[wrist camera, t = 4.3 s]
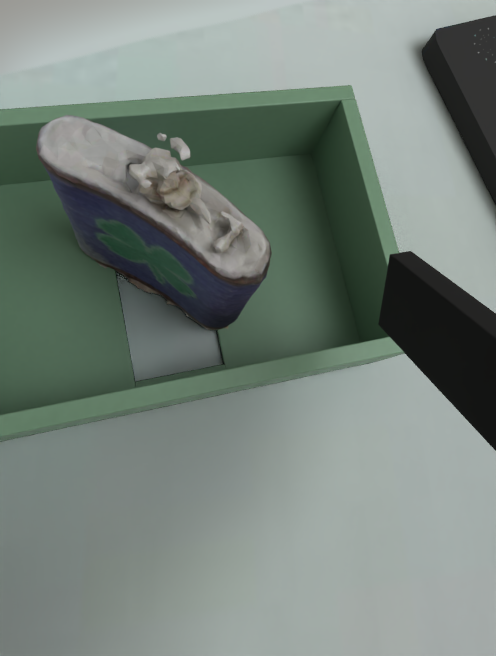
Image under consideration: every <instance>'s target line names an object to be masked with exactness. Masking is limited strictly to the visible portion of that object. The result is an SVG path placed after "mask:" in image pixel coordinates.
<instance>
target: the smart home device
mask: <svg viewBox="0 0 496 656" xmlns="http://www.w3.org/2000/svg"><path fill="white" fill-rule="evenodd" d="M422 55H423V59H424V61H425V64H426V66H427V68H428V70H429V72H430V74H431V76H432V78H433V80H434V82H435V84H436V86H437V88H438V90H439V92H440V94H441V96H442V98H443V100H444V102H445V104H446V106H447V108H448V110H449V112H450V114H451V116H452V118H453V120H454V122H455V124H456V126H457V128H458V130H459V132H460V134H461V136H462V138H463V140H464V142H465V144H466V146H467V148H468V150H469V152H470V154H471V156H472V158H473V160H474V162H475V164H476V166H477V168H478V170H479V172H480V174H481V176H482V178H483V180H484V182H485V184H486V186H487V188H488V190H489V192H490V194H491V196H492V198H493V200H494V202H495V204H496V15H495V16H491V17H487V18H482V19H478V20H474V21H469V22H465V23H461V24H456V25H452V26H448V27H443V28H439V29H436V31H435V32H434V34H433V35H432V37H431V38H430V39H429V41H428V42H427V44H426V45H425V47H424V48H423V50H422Z"/></svg>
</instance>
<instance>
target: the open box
mask: <svg viewBox="0 0 496 656" xmlns="http://www.w3.org/2000/svg"><path fill="white" fill-rule="evenodd" d="M65 115H73V116H78V117H83V118H85V119H88V120H90V121H92V122H94V123H98V124H101V125H104V126H106V127H108V128H110V129H112V130H115V131H117V132H118V133H120V134H122V135H124V136H127V137H129V138H131V139H134V140H136V141H139V142H141V143H143V144H145V145H147V146H148V147H150V148H152V149H153V148H160V149H164V150H168V151H170V153H171V157H175V158H176V159H177V160H178V161H179V162H180V165H182V166H185V167H187V168H189V169H190V170H191V171H192V172H193V173H194V174H196V175H197V176H199V177H200V178H202V179H203V180H205V181H206V182H207V183H209V184H210V185H211V186H212V187H214V188H215V189H216V190H217V191H218V192H220V193H221V194H222V195H223V196H224V197H226V198H227V199H228V200H229V201H230V202H232V203H233V204H234V205H235V206H236V207H237V208H238V209H239V210H240V211H242V212H243V213H244V214H245V216H247V217H248V218H249V219H250V220H252V221H253V222H254V223H255V224H256V225H257V226H258V227H259V228H260V229H261V230H262V231H263V232H264V234H265V236H266V237H267V239H268V240H269V242H270V246H271V252H272V254H271V258H270V265H269V268H268V272H267V276H266V278H265V279H264V280H263V281H262V283H261V284H260V286H259V288H258V289H257V290H256V292H255V293H254V294H253V295H252V296H251V298H250V299H249V301H248V302H247V303H246V305H245V307H244V308H243V310H242V311H241V313H240V315H239V316H238V319H236V320H235V322H233V323H231V324H229V325H228V329H225V328H222V329H219V330H218V329H217V333H218V338H219V343H220V348H221V353H222V357H223V362H224V364H222V365H217V366H212V367H207V368H202V369H197V370H192V371H187V372H182V373H177V374H172V375H167V376H162V377H156V378H151V379H146V380H141V381H136V382H135V379H134V373H133V368H132V362H131V356H130V351H129V345H128V339H127V333H126V328H125V322H124V316H123V311H122V305H121V299H120V294H119V288H118V282H117V277H116V271H115V270H114V269H112V268H110V267H107V268H104V267H103V266H100V265H99V264H98V263H97V262H96V261H95V260H93V259H92V258H91V257H90V256H88V255H87V254H85V252H84V251H82V250H81V248H80V247H79V244H78V241H77V239H76V236H75V233H74V231H73V228H72V225H71V223H70V220H69V218H68V216H67V214H66V212H65V210H64V209H63V205H62V202H61V200H60V198H59V196H58V194H57V193H56V191H55V189H54V187H53V183H52V181H51V179H50V177H49V175H48V173H47V171H46V169H45V167H44V166H43V164H42V163H41V161H40V160H39V158H38V154H37V150H36V145H37V139H38V134H39V131H40V129H41V127H43V126H44V125H46V124H48V123H49V122H51V121H52V120H54V119H57V118H59V117H62V116H65ZM159 133H161V134H165V135H166V136H167V138H166V139H165V141H162V140H158V137H157V135H158V134H159ZM175 137H178V138H180V139H182V140H183V142H184V143H185V144H186V145H187V146H188V148H189V149H190V159H185V160H181V157H180V154H179V153H178V152H177V151H175V150H174V149H172V148H171V144H170V138H175ZM395 253H399V251H398V247H397V244H396V240H395V237H394V233H393V230H392V226H391V223H390V219H389V216H388V212H387V208H386V205H385V201H384V198H383V194H382V191H381V187H380V184H379V180H378V177H377V173H376V170H375V166H374V163H373V159H372V155H371V152H370V148H369V145H368V141H367V138H366V134H365V131H364V127H363V124H362V120H361V117H360V113H359V110H358V106H357V103H356V100H355V96H354V93H353V89H352V86H351V85H348V86H334V87H319V88H305V89H290V90H276V91H261V92H247V93H232V94H218V95H203V96H189V97H174V98H160V99H145V100H131V101H116V102H102V103H87V104H73V105H58V106H44V107H29V108H15V109H0V442H1V441H5V440H10V439H15V438H19V437H24V436H29V435H34V434H38V433H43V432H48V431H52V430H57V429H62V428H66V427H71V426H76V425H81V424H85V423H90V422H95V421H99V420H104V419H109V418H113V417H118V416H123V415H128V414H132V413H137V412H142V411H146V410H151V409H156V408H161V407H165V406H170V405H175V404H179V403H184V402H189V401H193V400H198V399H203V398H208V397H212V396H217V395H222V394H226V393H231V392H236V391H241V390H245V389H250V388H255V387H259V386H264V385H269V384H273V383H278V382H283V381H288V380H292V379H297V378H302V377H306V376H311V375H316V374H320V373H325V372H330V371H335V370H339V369H344V368H349V367H353V366H358V365H363V364H368V363H372V362H377V361H380V360H384V359H387V358H390V357H394V356H397V355H401V354H404V352H403V351H402V350H401V348H400V347H399V346H398V345H397V344H396V343H395V342H394V341H393V340H392V339H391V338H390V337H389V336H388V335H387V333H386V332H385V331H384V330H383V329H382V328H381V327H380V326H379V325H378V323H379V317H380V311H381V305H382V299H383V293H384V287H385V281H386V275H387V269H388V263H389V256H390V254H395Z"/></svg>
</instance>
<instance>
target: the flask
mask: <svg viewBox="0 0 496 656" xmlns="http://www.w3.org/2000/svg"><path fill="white" fill-rule="evenodd" d="M157 137H158V140H162V141H165V139H166V138H167V136H166V135H165V134H161V133H159V134H158V135H157ZM170 144H171V148H172V149H174V150H175V151H177V152H178V153H179V154H180V157H181V160H185V159H190V149H189V148H188V146H187V145H186V144H185V143H184V142H183V140H182V139H180V138H178V137H175V138H170ZM36 150H37V154H38V158H39V160H40V161H41V163H42V164H43V166H44V167H45V169H46V171H47V173H48V175H49V177H50V179H51V181H52V183H53V187H54V189H55V191H56V193H57V194H58V196H59V198H60V200H61V202H62V205H63V209H64V210H65V212H66V214H67V216H68V218H69V220H70V223H71V225H72V228H73V231H74V233H75V236H76V239H77V241H78V244H79V247H80V248H81V250H82V251H84V252H85V254H87V255H88V256H90V257H91V258H92V259H93V260H95V261H96V262H97V263H98V264H99V265H100V266H103V267H104V268H107V267H110V268H112V269H114V270H116V271H117V272H119V273H120V274H123V275H124V277H125V278H127V279H129V282H131V283H132V284H135V285H136V286H137V289H143V290H144V291H145V292H149V293H150V294H151V293H152V292H153V293H154V294H160V295H161V296H163V297H164V298H165V299H166V301H167V304H171V305H175V306H178V307H179V308H181V309H182V310H183V311H184V313H185V314H186V317H187V316H189V317H190V318H192V319H193V320H194V321H195V322H196V323H198V324H200V325H202V326H203V327H204V328H206V329H208V330H217V329H218V330H219V329H222V328H225V329H228V325H229V324H231V323H233V322H235V320H236V319H238V316H239V315H240V313H241V311H242V310H243V308H244V307H245V305H246V303H247V302H248V301H249V299H250V298H251V296H252V295H253V294H254V293H255V292H256V290H257V289H258V288H259V286H260V284H261V283H262V281H263V280H264V279H265V278H266V276H267V272H268V268H269V265H270V258H271V254H272V252H271V246H270V242H269V240H268V239H267V237H266V236H265V234H264V232H263V231H262V230H261V229H260V228H259V227H258V226H257V225H256V224H255V223H254V222H253V221H252V220H250V219H249V218H248V217H247V216H245V214H244V213H243V212H242V211H240V210H239V209H238V208H237V207H236V206H235V205H234V204H233V203H232V202H230V201H229V200H228V199H227V198H226V197H224V196H223V195H222V194H221V193H220V192H218V191H217V190H216V189H215V188H214V187H212V186H211V185H210V184H209V183H207V182H206V181H205V180H203V179H202V178H200V177H199V176H197V175H196V174H194V173H193V172H192V171H191V170H190V169H189V168H187V167H185V166H182V165H180V162H179V161H178V160H177V159H176V158H175V157H171V153H170V151H168V150H164V149H160V148H153V149H152V148H150V147H148V146H147V145H145V144H143V143H141V142H139V141H136V140H134V139H131V138H129V137H127V136H124V135H122V134H120V133H118V132H117V131H115V130H112V129H110V128H108V127H106V126H104V125H101V124H98V123H94V122H92V121H90V120H88V119H85V118H83V117H78V116H73V115H65V116H62V117H59V118H57V119H54V120H52V121H51V122H49V123H48V124H46V125H44V126H43V127H41V129H40V131H39V134H38V139H37V145H36Z"/></svg>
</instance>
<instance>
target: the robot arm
mask: <svg viewBox="0 0 496 656" xmlns="http://www.w3.org/2000/svg"><path fill="white" fill-rule="evenodd" d="M378 325H379V326H380V327H381V328H382V329H383V330H384V331H385V332H386V333H387V335H388V336H389V337H390V338H391V339H392V340H393V341H394V342H395V343H396V344H397V345H398V346H399V347H400V348H401V350H402V351H403V352H404V353H405V354H406V355H407V356H408V357H409V358H410V359H411V360H412V361H413V362H414V363H415V365H416V366H417V367H418V368H419V369H420V370H421V371H422V372H423V373H424V374H425V375H426V376H427V377H428V379H429V380H430V381H431V382H432V383H433V384H434V385H435V386H436V387H437V388H438V389H439V390H440V391H441V392H442V394H443V395H444V396H445V397H446V398H447V399H448V400H449V401H450V402H451V403H452V404H453V405H454V406H455V408H456V409H457V410H458V411H459V412H460V413H461V414H462V415H463V416H464V417H465V418H466V419H467V420H468V421H469V423H470V424H471V425H472V426H473V427H474V428H475V429H476V430H477V431H478V432H479V433H480V434H481V435H482V436H483V438H484V439H485V440H486V441H487V442H488V443H489V444H490V445H491V446H492V447H493V448H494V449H495V450H496V313H494V312H493V311H491V310H490V309H489V308H487V307H486V306H485V305H483V304H482V303H481V302H479V301H478V300H476V299H475V298H474V297H472V296H471V295H470V294H468V293H467V292H466V291H464V290H463V289H462V288H460V287H459V286H457V285H456V284H455V283H453V282H452V281H451V280H449V279H448V278H447V277H445V276H444V275H442V274H441V273H440V272H438V271H437V270H436V269H434V268H433V267H432V266H430V265H429V264H428V263H426V262H425V261H423V260H422V259H421V258H419V257H418V256H417V255H415V254H414V253H413V252H411V251H409V252H402V253H395V254H390V256H389V263H388V269H387V275H386V281H385V287H384V293H383V299H382V305H381V311H380V317H379V323H378Z"/></svg>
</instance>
